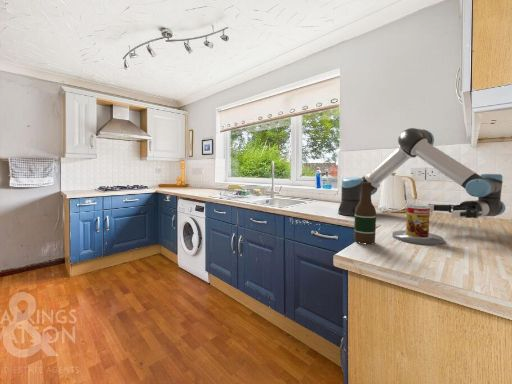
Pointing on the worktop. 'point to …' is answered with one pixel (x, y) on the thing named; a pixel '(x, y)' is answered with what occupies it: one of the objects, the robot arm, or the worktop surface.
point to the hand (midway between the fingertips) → (436, 211)
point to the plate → (429, 240)
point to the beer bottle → (365, 217)
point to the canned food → (417, 221)
